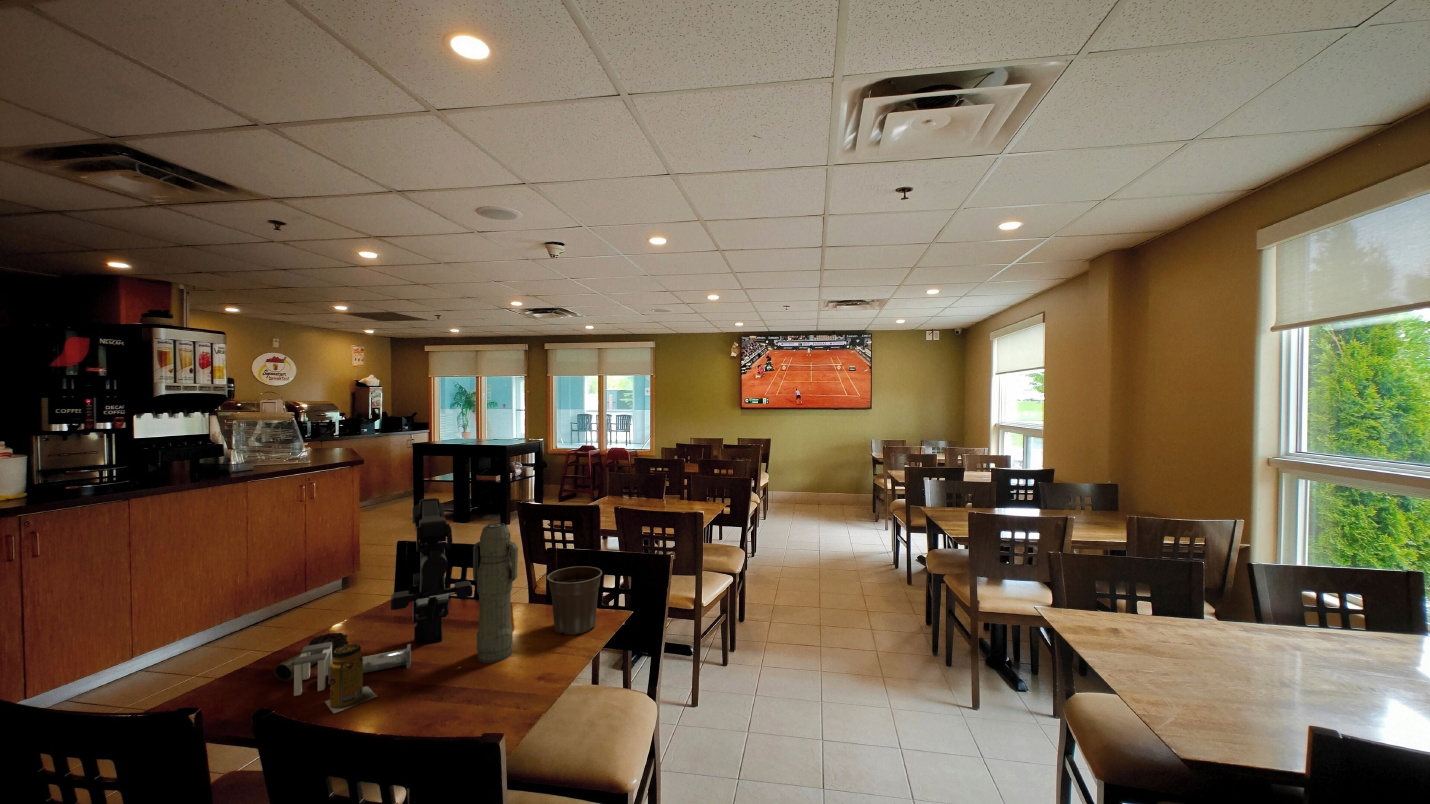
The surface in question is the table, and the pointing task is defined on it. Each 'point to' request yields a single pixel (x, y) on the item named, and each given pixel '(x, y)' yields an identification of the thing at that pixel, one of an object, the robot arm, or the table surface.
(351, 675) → the condiment
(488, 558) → the grey stone statue
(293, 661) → the dark piece
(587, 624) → the plant pot
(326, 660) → the grey staple-shaped bracket
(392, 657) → the air tube
